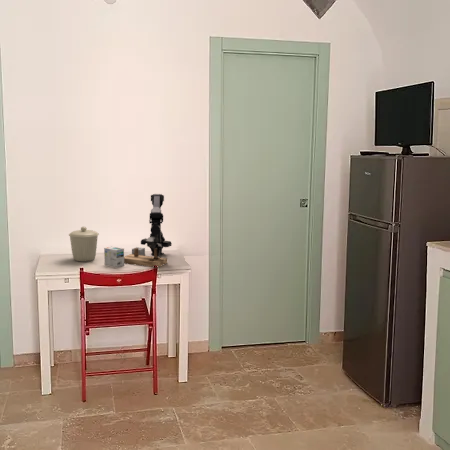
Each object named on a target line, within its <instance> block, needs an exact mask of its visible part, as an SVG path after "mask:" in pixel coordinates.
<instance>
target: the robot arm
mask: <svg viewBox="0 0 450 450" xmlns="http://www.w3.org/2000/svg"><path fill="white" fill-rule="evenodd" d="M150 202H151V204H152V208H151V209H150V213H149V220H148V221H149V222H148V223H149V224H150V225H151V227H150V233H149V234H150V235H149V237H148V238H146V237H145V238H143V239H141V240H140V245H142V246H143V245H144V246H145V245H146V247H148V248H149V249H150V251H151V253H150V256H151V255H152V257H154V248H157V257H159V258H160V256H162V255H164V254H165V253H164V252H163V250H164V249H163V248H170V247H172V245H173V244H172V241H170V240H166V239H165V237H164V235H163V231H162V230H161V229H162V227H161V226H162V225H161V224H163V222H164V214H163V213H162V209H161V208H162V206H163V205H164V202H165V195H164V194H162V193H154V194H151V195H150Z"/></svg>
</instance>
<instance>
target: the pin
mask: <svg viewBox="0 0 450 450" xmlns="http://www.w3.org/2000/svg"><path fill="white" fill-rule="evenodd" d="M153 257H154V259H156V260H158V257H157V248H154V256H153Z"/></svg>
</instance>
